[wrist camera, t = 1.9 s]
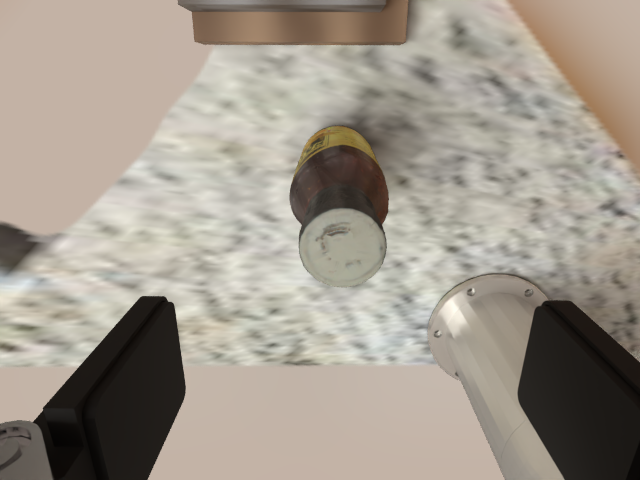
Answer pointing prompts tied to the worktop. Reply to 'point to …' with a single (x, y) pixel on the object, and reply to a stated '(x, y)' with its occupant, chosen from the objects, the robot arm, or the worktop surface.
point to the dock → (298, 22)
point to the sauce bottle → (340, 207)
